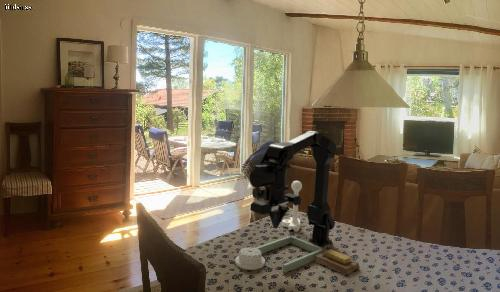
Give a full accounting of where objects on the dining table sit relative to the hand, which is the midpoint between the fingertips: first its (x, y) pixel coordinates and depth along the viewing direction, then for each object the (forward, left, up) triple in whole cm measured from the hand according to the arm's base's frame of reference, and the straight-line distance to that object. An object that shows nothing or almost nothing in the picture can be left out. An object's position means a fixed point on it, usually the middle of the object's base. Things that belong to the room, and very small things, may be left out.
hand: (275, 227), depth 133 cm
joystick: (-30, -19, -12) cm, 37 cm away
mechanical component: (+7, -4, -12) cm, 15 cm away
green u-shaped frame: (-7, 0, -12) cm, 14 cm away
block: (-15, +15, -12) cm, 25 cm away
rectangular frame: (-15, +15, -12) cm, 24 cm away
